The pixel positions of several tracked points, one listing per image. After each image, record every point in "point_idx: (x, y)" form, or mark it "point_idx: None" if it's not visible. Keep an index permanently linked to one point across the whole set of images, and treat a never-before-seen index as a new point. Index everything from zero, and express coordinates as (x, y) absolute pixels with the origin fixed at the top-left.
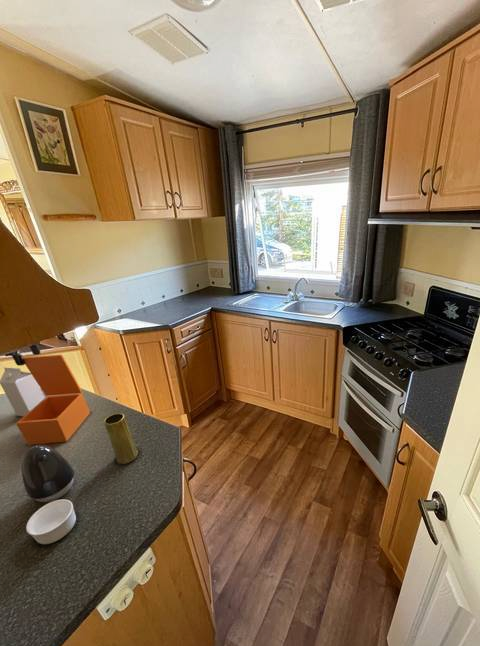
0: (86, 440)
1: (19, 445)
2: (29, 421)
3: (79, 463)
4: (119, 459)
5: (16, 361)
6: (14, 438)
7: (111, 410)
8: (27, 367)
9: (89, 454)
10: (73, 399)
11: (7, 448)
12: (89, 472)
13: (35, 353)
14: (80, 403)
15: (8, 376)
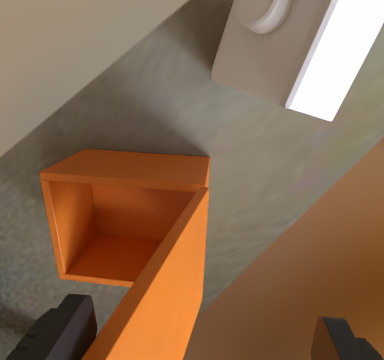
0: None
1: (83, 127)
2: (49, 209)
3: (36, 279)
4: None
5: (24, 350)
6: (112, 90)
7: (207, 289)
8: (125, 296)
9: (58, 287)
10: None
11: (72, 100)
12: (19, 299)
13: (318, 342)
14: None
15: (242, 22)
